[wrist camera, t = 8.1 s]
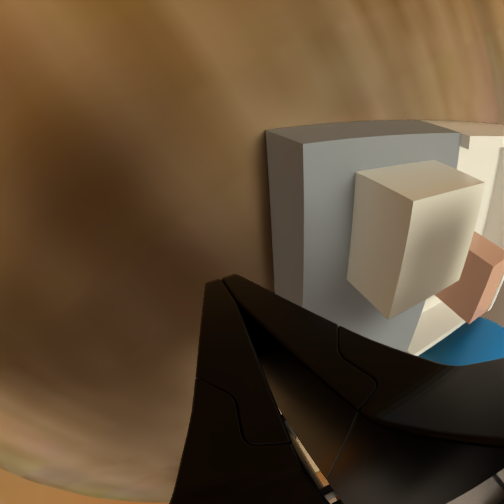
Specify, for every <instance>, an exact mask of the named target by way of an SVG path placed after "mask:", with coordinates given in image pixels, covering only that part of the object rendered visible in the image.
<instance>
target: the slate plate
mask: <svg viewBox="0 0 504 504" xmlns="http://www.w3.org/2000/svg"><path fill="white" fill-rule="evenodd" d="M460 139H461V133H460V132H457V131H454V130H451V129H448V128H444V127H441V126H438V125H435V124H431V123H428V122H424V121H421V120H382V121H357V122H341V123H327V124H315V125H305V126H295V127H286V128H278V129H270V130H266V145H267V160H268V176H269V192H270V210H271V228H272V247H273V267H274V289H275V294H277V295H279V296H281V297H283V298H285V299H287V300H289V301H291V302H293V303H295V304H297V305H299V306H301V307H303V308H305V309H307V310H309V311H311V312H313V313H315V314H317V315H319V316H322V317H324V318H326V319H328V320H330V321H332V322H334V323H336V324H338V326H342V327H345V328H347V329H349V330H351V331H353V332H355V333H357V334H360V335H362V336H364V337H366V338H369V339H371V340H374V341H376V342H379V343H381V344H384V345H387V346H389V347H392V348H395V349H398V350H401V351H404V352H407V350H408V348H409V345H410V343H411V340H412V337H413V335H414V332H415V329H416V327H417V324H418V321H419V319H420V316H421V313H422V310H423V307H424V304H425V301H426V300H424V301H422V302H421V303H419V304H417V305H415V306H413V307H411V308H410V309H408V310H406V311H404V312H402V313H400V314H398V315H396V316H394V317H393V318H391V319H389V320H388V319H387V318H386V317H385V316H384V315H383V314H382V313H381V312H380V311H379V310H378V309H377V308H376V307H375V306H374V305H373V304H372V303H371V302H370V301H368V300H367V299H366V298H365V297H364V296H363V295H362V294H361V293H360V292H359V291H358V290H357V289H356V288H355V287H354V286H353V285H352V284H351V283H350V282H349V281H348V280H347V271H348V262H349V253H350V243H351V232H352V220H353V207H354V192H355V173H356V172H357V171H363V170H369V169H376V168H382V167H388V166H395V165H402V164H409V163H416V162H423V161H430V160H436V161H438V162H441V163H443V164H445V165H448V166H450V167H452V168H455V169H457V164H458V156H459V148H460Z"/></svg>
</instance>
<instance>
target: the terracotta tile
mask: <svg viewBox="0 0 504 504" xmlns="http://www.w3.org/2000/svg"><path fill="white" fill-rule="evenodd" d="M503 273H504V250H503V249H502V248H500V247H499V246H497V245H496V244H494V243H492V242H491V241H489V240H488V239H486V238H485V237H483V236H482V235H480V234H478V233H477V232H475V231H474V233H473V237H472V240H471V244H470V247H469V251H468V254H467V257H466V261H465V264H464V267H463V270H462V273H461V276H460V279H459V280H458V281H457V282H455V283H453V284H452V285H450V286H448V287H447V288H445V289H443V290H442V291H440V292H438V293H436V294H435V296H436V297H437V298H439V299H440V300H441V301H442V302H443V303H444V304H446V305H447V306H448V307H449V308H450V309H452V310H453V311H454V312H455V313H456V314H457V315H458V316H460V317H461V318H462V319H463V320H464V321H465V322H466V323H468V324H470V323H472V322H473V321H474V320H475V319H477V318H478V317H479V316H480V315H482V314H483V313H484V312H485V311H486V310H488V308H489V306H490V304H491V302H492V299H493V297H494V295H495V293H496V290H497V288H498V286H499V283H500V281H501V278H502V276H503Z"/></svg>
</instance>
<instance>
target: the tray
mask: <svg viewBox="0 0 504 504" xmlns="http://www.w3.org/2000/svg"><path fill="white" fill-rule="evenodd" d="M421 121H424V122H428V123H431V124H435V125H438V126H441V127H444V128H448V129H451V130H454V131H457V132H460V133H461V139H460V148H459V156H458V164H457V170H459V171H461V172H464V173H466V174H468V175H470V176H472V177H474V178H477V179H479V180H481V181H483V182H485V185H484V190H483V195H482V200H481V205H480V209H479V213H478V218H477V222H476V226H475V229H474V231H475V232H477V233H478V234H480V235H482V236H483V237H485V238H486V239H488V240H489V241H491V242H492V243H494V244H496V245H497V246H499V247H500V248H502V249H503V250H504V125H501V124H491V123H479V122H464V121H441V120H421ZM503 280H504V273H503V276H502V278H501V281H500V283H499V286H498V288H497V290H496V293H495V295H494V297H493V299H492V302H491V304H490V306H489V308H488V310H487V311H489V310H490V309H491V308H492V305H493V303H494V301H495V299H496V296H497V294H498V292H499V290H500V287H501V285H502V283H503ZM464 323H465V321H464V320H463V319H462V318H461V317H460V316H458V315H457V314H456V313H455V312H454V311H453V310H452V309H450V308H449V307H448V306H447V305H446V304H444V303H443V302H442V301H441V300H440V299H439V298H437V297H436V296H435V295H433V296H431V297H429V298H428V299H426V301H425V304H424V307H423V310H422V313H421V316H420V319H419V321H418V324H417V327H416V329H415V332H414V335H413V337H412V340H411V343H410V345H409V348H408V350H407V353H410V354H413V355H416V356H419V355H420V354H422V353H423V352H425V351H426V350H428V349H429V348H431V347H432V346H434V345H435V344H436V343H438V342H439V341H441V340H442V339H444V338H445V337H446V336H448V335H449V334H451V333H452V332H453V331H455V330H456V329H457V328H459V327H460V326H461V325H463V324H464Z"/></svg>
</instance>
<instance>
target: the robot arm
mask: <svg viewBox="0 0 504 504" xmlns="http://www.w3.org/2000/svg"><path fill="white" fill-rule="evenodd" d="M278 408H279V409H280V411H281V413H282V414H283V417H282V416H281V414H280V411H279V409H278ZM296 436H297V437H298V439H299V440H300V442H301V443H302V445H303V446H304V448H305V449H306V451H307V452H308V454H309V455H310V457H311V458H312V459H313V461H314V462H315V464H316V465H317V467H318V468H319V470H320V471H321V473H322V474H323V475H324V477H325V478H326V479H327V481H328V483H329V485H327V486H325V487H324V486H323V484H322V483H321V481H320V480H319V478H318V476H317V475H316V473H315V471H314V470H313V468H312V466H311V465H310V463H309V461H308V460H307V458H306V456H305V454H304V453H303V451H302V449H301V448H300V446H299V444H298V442H297V441H296ZM335 497H336V499H337V501H336V502H334V503H332V504H504V358H500V359H495V360H490V361H485V362H480V363H475V364H469V365H460V366H455V365H446V364H441V363H437V362H434V361H431V360H428V359H425V358H422V357H419V356H416V355H413V354H410V353H407V352H404V351H401V350H398V349H395V348H392V347H389V346H387V345H384V344H381V343H379V342H376V341H374V340H371V339H369V338H366V337H364V336H362V335H360V334H357V333H355V332H353V331H351V330H349V329H347V328H345V327H342V326H338V324H336V323H334V322H332V321H330V320H328V319H326V318H324V317H322V316H319V315H317V314H315V313H313V312H311V311H309V310H307V309H305V308H303V307H301V306H299V305H297V304H295V303H293V302H291V301H289V300H287V299H285V298H283V297H281V296H279V295H277V294H275V293H273V292H271V291H269V290H267V289H265V288H263V287H261V286H259V285H257V284H255V283H253V282H251V281H249V280H247V279H245V278H243V277H241V276H239V275H237V274H233V275H230V276H227V277H223V278H222V280H221V279H216V280H213V281H210V282H207V283H206V284H205V290H204V299H203V308H202V317H201V326H200V336H199V346H198V356H197V367H196V379H195V387H194V397H193V405H192V413H191V418H190V423H189V428H188V433H187V437H186V441H185V446H184V450H183V454H182V458H181V463H180V467H179V471H178V475H177V480H176V484H175V487H174V491H173V494H172V497H171V500H170V503H169V504H330V503H329V502H328V501H329V500H331V499H332V498H335Z"/></svg>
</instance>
